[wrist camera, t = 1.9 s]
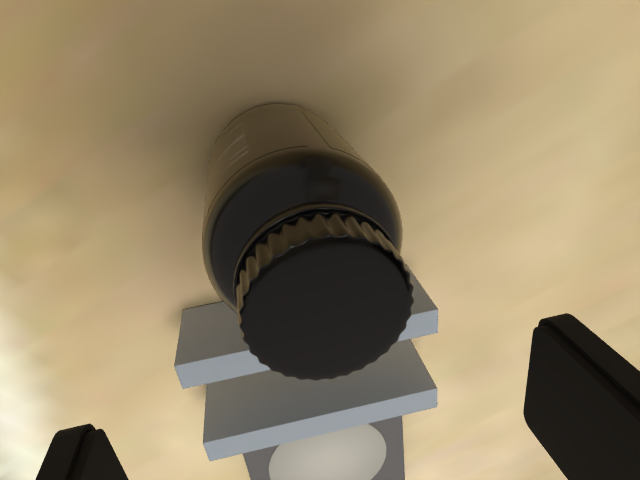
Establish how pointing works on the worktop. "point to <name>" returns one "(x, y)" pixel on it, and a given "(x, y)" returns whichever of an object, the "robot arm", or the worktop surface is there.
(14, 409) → the worktop surface
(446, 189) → the worktop surface
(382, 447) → the mat
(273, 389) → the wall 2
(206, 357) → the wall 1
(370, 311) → the supplement bottle
